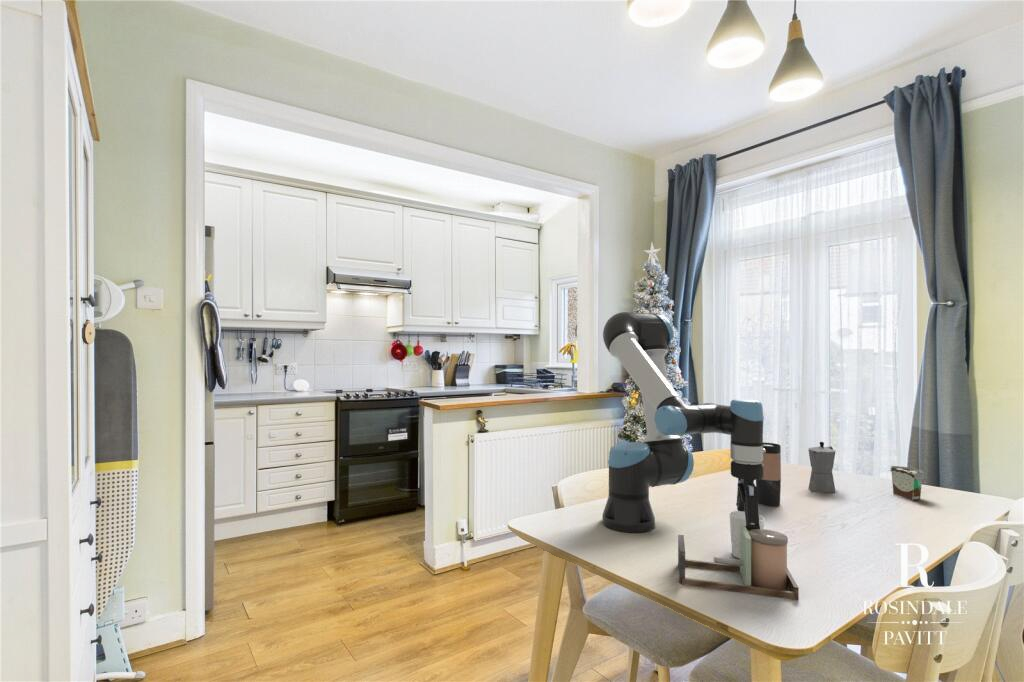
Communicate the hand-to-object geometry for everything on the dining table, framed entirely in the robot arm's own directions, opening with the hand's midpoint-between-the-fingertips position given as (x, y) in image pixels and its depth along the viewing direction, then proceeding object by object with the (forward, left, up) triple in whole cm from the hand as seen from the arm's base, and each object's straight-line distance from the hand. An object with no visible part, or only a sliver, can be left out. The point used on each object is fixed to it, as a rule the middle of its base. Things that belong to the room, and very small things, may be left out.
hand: (747, 546), depth 129 cm
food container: (+65, +77, -3) cm, 101 cm away
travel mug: (+14, +52, -3) cm, 54 cm away
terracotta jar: (+2, -16, -2) cm, 16 cm away
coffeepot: (+37, +79, -3) cm, 88 cm away
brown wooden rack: (-5, -16, -2) cm, 17 cm away
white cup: (0, 0, -3) cm, 3 cm away
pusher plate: (-5, -16, -2) cm, 17 cm away
